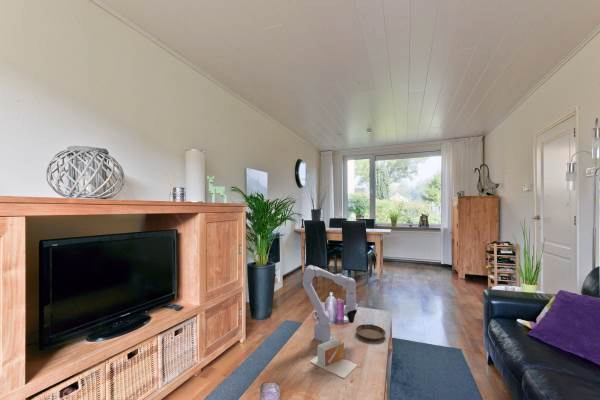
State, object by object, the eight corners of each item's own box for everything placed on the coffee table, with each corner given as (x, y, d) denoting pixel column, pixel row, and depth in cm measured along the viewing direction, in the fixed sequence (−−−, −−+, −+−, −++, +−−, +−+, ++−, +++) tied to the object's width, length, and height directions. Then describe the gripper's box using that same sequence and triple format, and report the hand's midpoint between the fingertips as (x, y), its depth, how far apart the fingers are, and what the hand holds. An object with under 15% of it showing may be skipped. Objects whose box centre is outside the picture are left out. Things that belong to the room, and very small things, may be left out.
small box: (344, 358, 138) (325, 367, 130) (336, 352, 143) (317, 360, 136) (344, 342, 138) (325, 350, 130) (336, 337, 143) (317, 345, 136)
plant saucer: (389, 343, 154) (389, 337, 154) (359, 343, 154) (359, 337, 154) (380, 328, 172) (380, 324, 172) (353, 328, 172) (353, 323, 172)
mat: (310, 362, 135) (310, 361, 135) (324, 351, 145) (324, 350, 145) (343, 378, 122) (343, 378, 122) (357, 365, 132) (357, 365, 132)
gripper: (350, 304, 149) (350, 328, 149) (362, 297, 160) (363, 320, 160) (340, 301, 154) (340, 325, 154) (352, 295, 165) (352, 317, 165)
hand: (351, 322), depth 157 cm, fingers closed
